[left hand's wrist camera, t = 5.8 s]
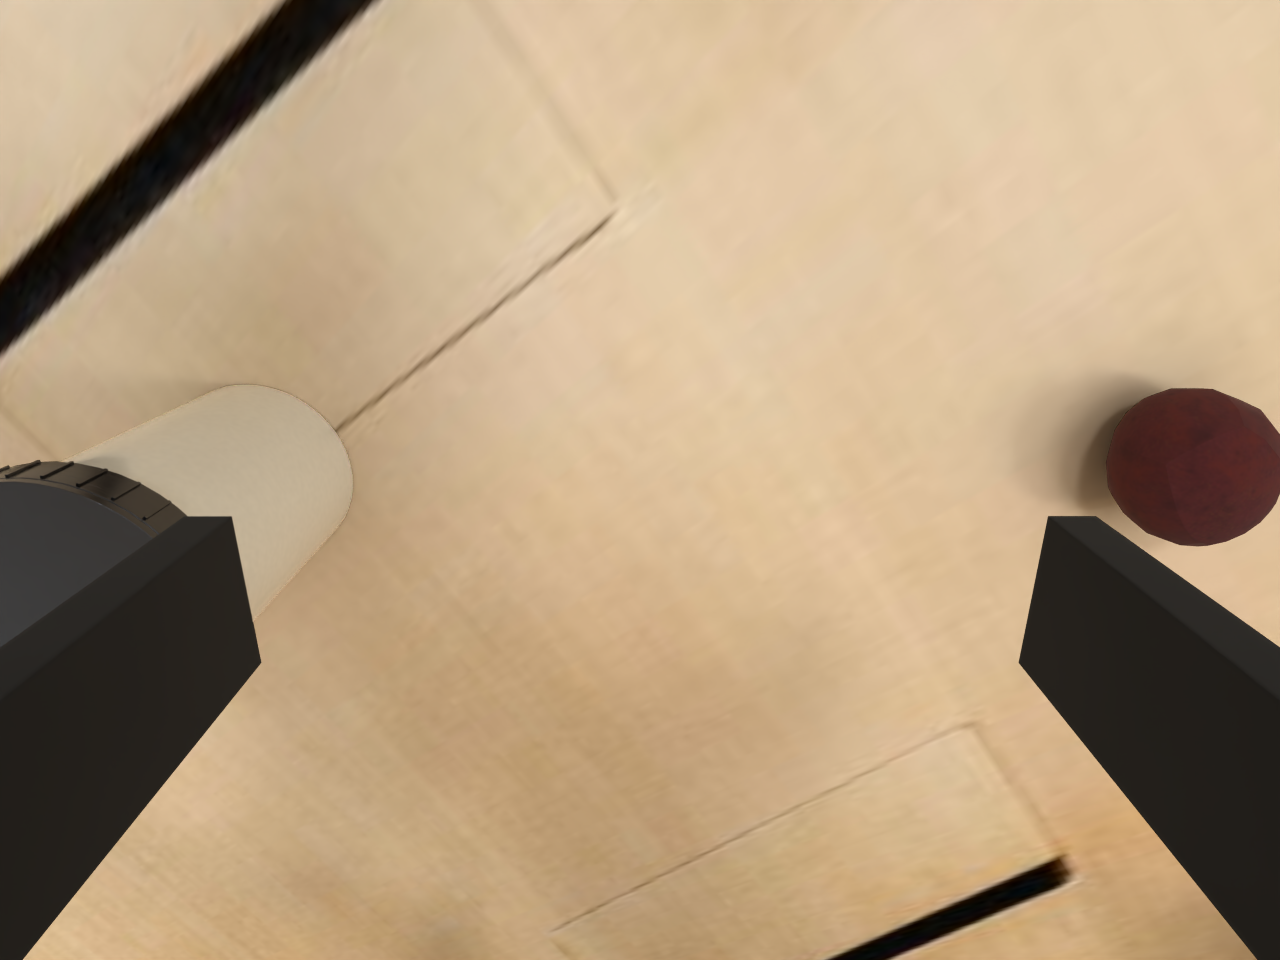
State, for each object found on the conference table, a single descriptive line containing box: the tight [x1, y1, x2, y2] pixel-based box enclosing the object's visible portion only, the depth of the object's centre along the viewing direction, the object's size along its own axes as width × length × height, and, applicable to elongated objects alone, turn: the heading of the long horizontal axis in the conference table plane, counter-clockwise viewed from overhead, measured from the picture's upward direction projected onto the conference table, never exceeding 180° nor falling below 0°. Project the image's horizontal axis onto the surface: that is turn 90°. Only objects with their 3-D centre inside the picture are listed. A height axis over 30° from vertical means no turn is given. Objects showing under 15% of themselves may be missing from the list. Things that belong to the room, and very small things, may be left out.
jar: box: [60, 384, 353, 622], centre depth 35 cm, size 10×10×15 cm
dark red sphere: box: [1106, 388, 1280, 546], centre depth 38 cm, size 7×8×7 cm
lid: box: [0, 460, 187, 647], centre depth 28 cm, size 11×11×2 cm
